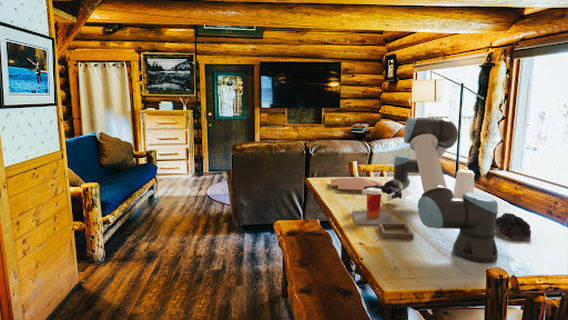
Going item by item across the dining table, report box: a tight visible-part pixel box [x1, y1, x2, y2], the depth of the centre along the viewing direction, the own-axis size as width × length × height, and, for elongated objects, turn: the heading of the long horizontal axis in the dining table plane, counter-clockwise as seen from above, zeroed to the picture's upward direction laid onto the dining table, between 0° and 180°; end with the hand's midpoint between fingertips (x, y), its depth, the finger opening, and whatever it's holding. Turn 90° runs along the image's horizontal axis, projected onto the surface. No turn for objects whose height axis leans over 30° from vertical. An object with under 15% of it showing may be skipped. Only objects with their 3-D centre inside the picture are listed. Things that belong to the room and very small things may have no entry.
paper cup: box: [366, 188, 383, 219], centre depth 172 cm, size 8×8×14 cm
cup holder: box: [377, 222, 414, 241], centre depth 155 cm, size 12×12×2 cm
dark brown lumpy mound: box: [495, 212, 532, 241], centre depth 153 cm, size 13×14×10 cm
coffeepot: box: [453, 166, 476, 198], centre depth 205 cm, size 11×25×19 cm, turn 168°
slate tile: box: [352, 210, 395, 227], centre depth 174 cm, size 18×18×1 cm
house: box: [330, 176, 384, 195], centre depth 228 cm, size 23×33×8 cm
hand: (375, 195), depth 174 cm, fingers open, 13 cm apart
